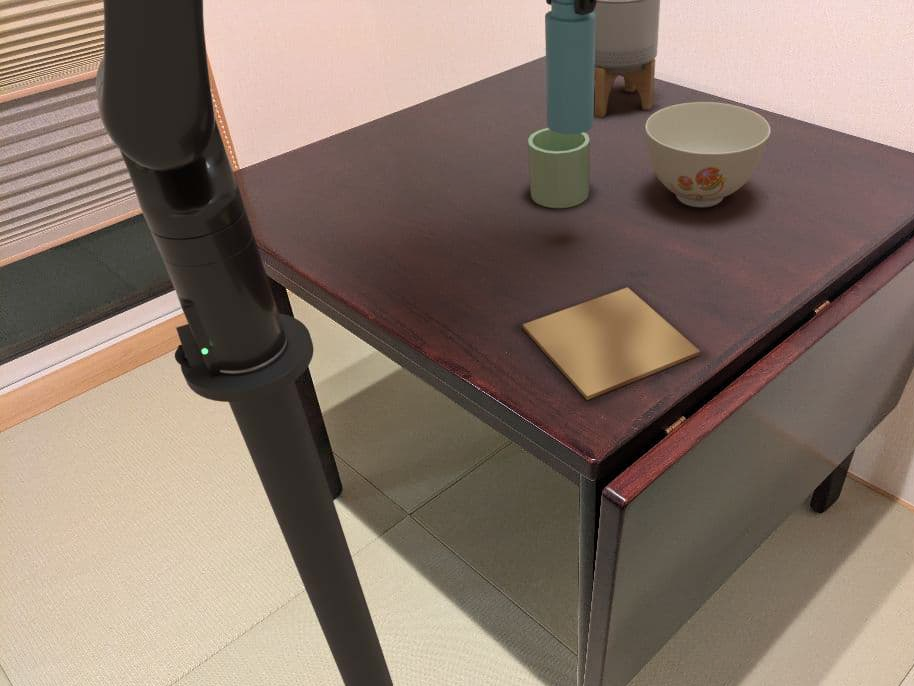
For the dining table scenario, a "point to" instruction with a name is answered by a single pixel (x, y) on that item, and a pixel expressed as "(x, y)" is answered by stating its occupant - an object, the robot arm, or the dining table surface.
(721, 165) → the bowl
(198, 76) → the robot arm
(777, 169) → the dining table surface
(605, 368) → the cork mat
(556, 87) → the bottle
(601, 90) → the planter
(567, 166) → the holder
